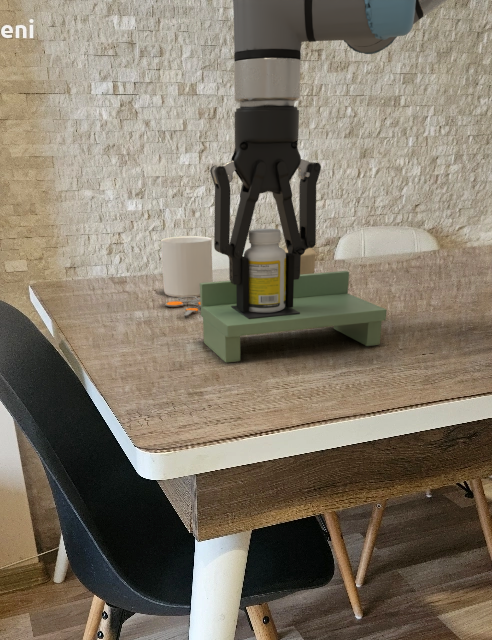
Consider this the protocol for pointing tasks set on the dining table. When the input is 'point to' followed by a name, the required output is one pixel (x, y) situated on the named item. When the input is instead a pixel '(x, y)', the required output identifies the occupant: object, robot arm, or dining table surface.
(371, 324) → the green l-shaped stand
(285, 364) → the dining table surface
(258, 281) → the supplement bottle
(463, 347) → the dining table surface
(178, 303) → the key chain
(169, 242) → the mug
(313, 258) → the candle
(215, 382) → the dining table surface
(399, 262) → the dining table surface
